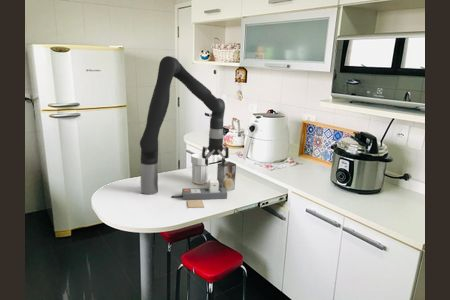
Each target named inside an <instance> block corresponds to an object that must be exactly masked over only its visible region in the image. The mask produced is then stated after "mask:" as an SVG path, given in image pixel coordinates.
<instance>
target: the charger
mask: <svg viewBox="0 0 450 300" xmlns="http://www.w3.org/2000/svg"><path fill="white" fill-rule="evenodd" d="M208 188H209V193H218V189H219V182H218V180H217V179H209V180H208Z"/></svg>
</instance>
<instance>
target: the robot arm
mask: <svg viewBox="0 0 450 300" xmlns="http://www.w3.org/2000/svg"><path fill="white" fill-rule="evenodd" d="M157 71H158V73H157V79H156V82H155V85H154V89H153V91H152V96H151V99H150V103H149V106H148V112H147V117H146V125H145V128H144V131H143V133H142V136H141V138H140V140H139V146H140V194H143V193H144V195H153V194H154V195H155V194H157V193H158V192H159V188H158V187H159V185H158V184H159V178H158V177H159V170H158V169H159V165H158V164H159V162H158V161H159V135H160V131H161V127H162V124H163V122H164V120H165V117H166V115H167V111H168V108H169V104H170V97H171V95H170V94H171V89H170V88H171V85H172V81H173V78H176V79H177V80H178V81H179V82H181V84H183V85H184V86H185V87H186V88H187V90H189V92H190V93H191V94H192V95H193V96H195V97H196V98H197V99H198V100H200V101H201V102H202V104H204V105H205V107H206V108H207V109H208V110H209V111H211V116H210V120H209V132H208V146H202V151H201V153H202V158H204V159H205V164H206V166H208V167H209V164H208V158H209V157H210V158H211V157H212V156H220V157H221V163H222V166H223V165H224V164H225V162H226V159H229V155H230V153H229V152H230V151H229V147H228V146H224V116H225V111H226V110H225V109H226V103H225V101H224V100H223V99H222V98H221V97H216V96H215V95H214V94H213V93H212V91H211V90H210V89H209V88H208V87H206V86H205V84H203V83H202V82H200V81H199V80H198V79H197V78H195V77H194V76H193V75H192V74H191V73H190V72H189V71H187V69H185V67H184V66H183V65H182V64H181V63H180V62H179V60H178V59H177V58H176V57H174V56H170V55H167V56H164V57H163V58H161V60H160V61H159V67H158V70H157ZM207 151H208V152H207ZM223 151H224V154H225V155H224V154H223ZM206 152H207V153H206ZM205 154H207V155H206V156H205Z"/></svg>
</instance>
